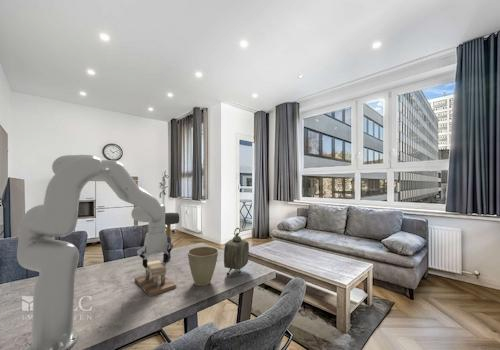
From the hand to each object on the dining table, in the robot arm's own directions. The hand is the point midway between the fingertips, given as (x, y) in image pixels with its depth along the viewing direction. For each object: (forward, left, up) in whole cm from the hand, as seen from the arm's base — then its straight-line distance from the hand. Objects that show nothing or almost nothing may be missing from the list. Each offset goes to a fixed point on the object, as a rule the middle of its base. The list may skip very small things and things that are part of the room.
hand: (155, 264), depth 111 cm
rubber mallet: (+28, -19, -10) cm, 35 cm away
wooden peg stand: (0, 0, -10) cm, 10 cm away
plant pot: (-14, -18, -10) cm, 25 cm away
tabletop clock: (-16, -39, -10) cm, 43 cm away
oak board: (0, 0, -3) cm, 3 cm away
